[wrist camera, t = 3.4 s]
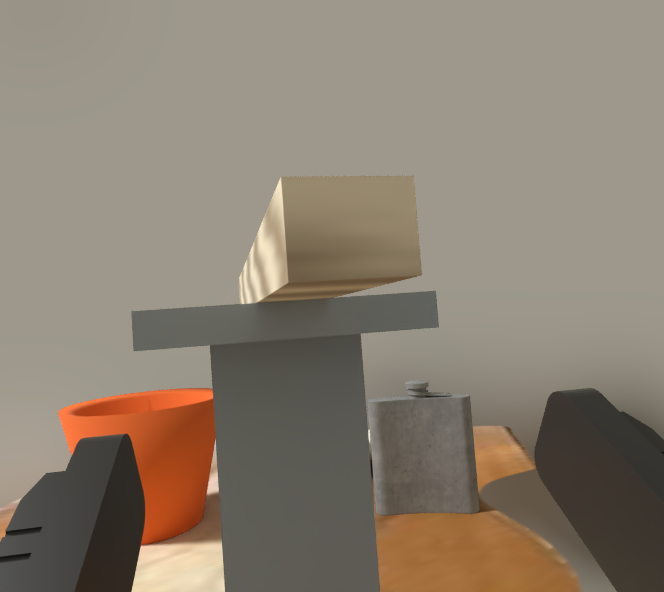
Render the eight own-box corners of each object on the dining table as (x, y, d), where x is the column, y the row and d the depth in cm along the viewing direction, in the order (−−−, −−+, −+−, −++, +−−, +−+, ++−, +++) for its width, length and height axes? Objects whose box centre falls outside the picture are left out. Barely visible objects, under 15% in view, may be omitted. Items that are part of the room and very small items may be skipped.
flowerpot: (146, 574, 63) (138, 418, 64) (27, 546, 74) (21, 414, 75) (260, 502, 85) (252, 388, 86) (155, 489, 96) (149, 388, 97)
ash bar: (421, 275, 15) (413, 175, 15) (288, 282, 14) (280, 176, 14) (284, 310, 46) (281, 278, 46) (240, 313, 45) (238, 280, 45)
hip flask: (375, 515, 76) (365, 386, 77) (376, 505, 80) (367, 382, 81) (481, 513, 74) (469, 380, 75) (476, 503, 78) (466, 376, 79)
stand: (486, 903, 26) (435, 291, 27) (168, 984, 23) (131, 311, 25) (378, 624, 49) (354, 306, 51) (216, 651, 47) (195, 317, 48)
